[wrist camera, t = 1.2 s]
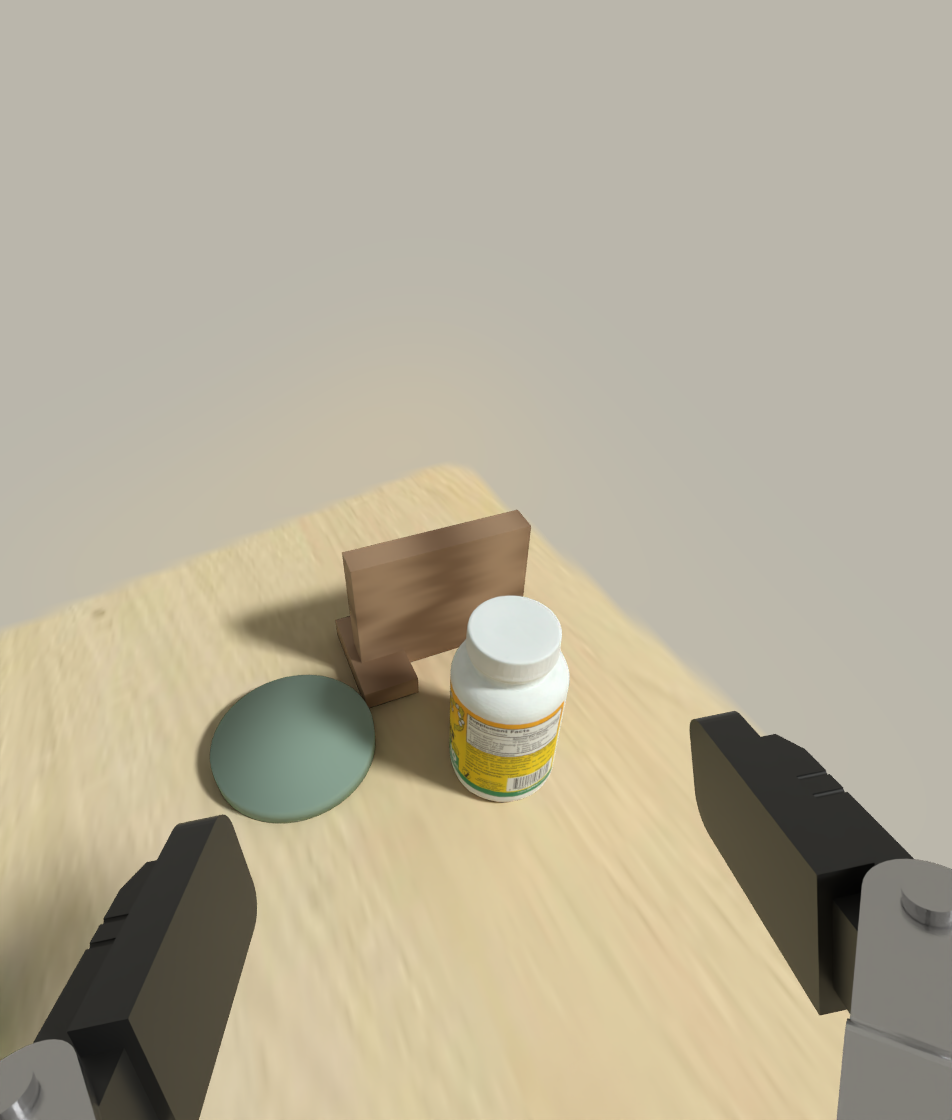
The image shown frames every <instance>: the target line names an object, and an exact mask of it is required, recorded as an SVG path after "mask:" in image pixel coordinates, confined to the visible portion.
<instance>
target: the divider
mask: <svg viewBox="0 0 952 1120" xmlns="http://www.w3.org/2000/svg"><path fill="white" fill-rule="evenodd" d="M530 531H531V525H530V524H529V523H528V522H527V520H526V519H525V518H524V517H523V516H522V514H521V513H520V512H519V511H518V510H514V511H510V512H506V513H502V514H498V515H494V516H490V517H486V518H482V519H478V520H474V521H469V522H465V523H461V524H457V525H453V526H449V527H445V528H441V529H437V530H433V531H428V532H424V533H420V534H416V535H412V536H408V537H404V538H400V539H396V540H392V541H387V542H383V543H379V544H375V545H371V546H367V547H363V548H359V549H355V550H351V551H346V552H342V557H343V564H344V572H345V579H346V587H347V595H348V602H349V610H350V616H348V617H345V618H341V619H337V620H335V621H336V627H337V634H338V636H339V639H340V642H341V644H342V647H343V649H344V652H345V655H346V657H347V660H348V662H349V665H350V668H351V670H352V673H353V675H354V678H355V681H356V683H357V686H358V688H359V691H360V694H361V696H362V698H363V700H364V701H365V702H366V704H367V706H368V708H371V707H374V706H377V705H380V704H383V703H386V702H389V701H392V700H395V699H398V698H401V697H404V696H407V695H410V694H413V693H416V692H418V678H417V675H416V673H415V671H414V669H413V667H412V665H411V663H410V662H413V661H416V660H419V659H422V658H425V657H429V656H432V655H435V654H438V653H441V652H445V651H448V650H451V649H454V648H457V647H460V645H461V644H462V643H463V642H464V641H465V640H466V635H467V625H468V621H469V618H470V616H471V614H472V612H473V611H474V610H475V609H476V608H477V607H478V606H479V605H480V604H482V603H483V602H485V601H487V600H489V599H492V598H495V597H499V596H521V597H523V593H524V584H525V575H526V566H527V558H528V549H529V540H530Z"/></svg>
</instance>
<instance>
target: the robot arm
mask: <svg viewBox="0 0 952 1120" xmlns="http://www.w3.org/2000/svg"><path fill="white" fill-rule="evenodd" d="M690 740H691V752H692V763H693V774H694V786H695V795H696V801H697V805H698V809H699V812H700V816H701V818H702V821H703V823H704V826H705V828H706V830H707V832H708V834H709V835H710V837H711V839H712V840H713V842H714V844H715V845H716V847H717V848H718V850H719V852H720V853H721V855H722V857H723V858H724V860H725V862H726V863H727V865H728V866H729V868H730V870H731V871H732V873H733V875H734V876H735V878H736V880H737V881H738V883H739V884H740V886H741V888H742V889H743V891H744V893H745V894H746V896H747V898H748V899H749V901H750V902H751V904H752V906H753V907H754V909H755V911H756V912H757V914H758V916H759V917H760V919H761V920H762V922H763V924H764V925H765V927H766V929H767V930H768V932H769V933H770V935H771V937H772V938H773V940H774V942H775V943H776V945H777V947H778V948H779V950H780V951H781V953H782V955H783V956H784V958H785V960H786V961H787V963H788V965H789V966H790V968H791V969H792V971H793V973H794V974H795V976H796V978H797V979H798V981H799V983H800V984H801V986H802V987H803V989H804V991H805V992H806V994H807V996H808V997H809V999H810V1001H811V1002H812V1004H813V1005H814V1007H815V1009H816V1010H817V1012H818V1014H819V1015H824V1014H828V1013H833V1012H838V1011H842V1010H848V1011H849V1013H850V1019H847V1022H846V1029H845V1037H844V1047H843V1058H842V1069H841V1079H840V1090H839V1101H838V1111H837V1120H952V869H950V868H947V867H945V866H942V865H939V864H935V863H931V862H928V861H923V860H916V859H914V858H913V857H912V856H911V855H910V854H909V853H908V852H907V851H906V850H905V849H904V848H903V847H902V846H901V845H900V844H899V843H898V842H897V841H896V840H895V839H894V838H893V837H892V836H891V835H890V834H889V833H888V832H887V831H886V830H885V829H884V828H883V827H882V826H881V825H880V824H879V823H878V822H877V821H876V820H875V819H874V818H873V817H872V816H871V815H870V814H869V813H868V812H867V811H866V810H865V809H864V808H863V807H862V806H861V805H860V804H859V803H858V802H857V801H856V800H855V799H854V798H853V797H852V796H851V795H850V794H849V793H848V792H844V790H843V787H842V786H841V785H840V784H839V783H838V782H837V781H836V780H835V779H834V778H833V777H832V776H831V775H830V774H828V775H827V773H826V770H825V769H824V768H823V767H822V766H821V765H820V764H819V763H818V762H817V761H816V760H815V759H814V758H813V757H812V756H811V755H810V754H809V753H808V752H807V751H806V750H805V749H804V748H801V747H800V746H798V745H796V744H794V743H792V742H790V741H788V740H786V739H784V738H782V737H780V736H778V735H776V734H773V735H768V736H763V737H760V736H759V735H758V734H757V732H756V731H755V730H754V729H753V728H752V727H751V726H750V725H749V724H748V723H747V721H746V720H745V719H744V718H743V717H742V716H741V715H740V714H739V713H738V712H736V711H732V712H727V713H722V714H717V715H712V716H708V717H703V718H698V719H693V720H692V721H691V723H690ZM256 916H257V899H256V891H255V887H254V884H253V881H252V878H251V875H250V872H249V869H248V867H247V864H246V861H245V858H244V855H243V853H242V850H241V847H240V844H239V841H238V839H237V836H236V833H235V830H234V827H233V825H232V822H231V821H230V819H229V818H228V817H227V816H226V815H219V816H214V817H209V818H204V819H199V820H194V821H189V822H185V823H180V824H178V825H176V826H175V827H174V829H173V831H172V832H171V834H170V836H169V838H168V840H167V842H166V844H165V846H164V848H163V850H162V852H161V853H160V855H159V857H158V859H157V860H156V861H151V862H146V863H145V864H144V866H143V867H142V868H141V869H140V870H139V871H138V872H137V873H136V874H135V875H134V876H133V877H132V878H131V879H130V880H129V881H128V882H127V883H126V884H125V885H124V886H123V887H122V888H121V889H120V890H119V892H118V894H117V896H116V898H115V899H114V901H113V903H112V905H111V906H110V908H109V910H108V912H107V913H106V915H105V917H104V923H103V924H101V925H100V926H99V928H98V929H97V931H96V933H95V935H94V936H93V938H92V940H91V942H90V948H89V949H87V950H85V952H84V954H83V956H82V958H81V959H80V961H79V963H78V965H77V966H76V968H75V970H74V972H73V973H72V975H71V977H70V979H69V980H68V982H67V984H66V986H65V988H64V989H63V991H62V993H61V995H60V996H59V998H58V1000H57V1002H56V1003H55V1005H54V1007H53V1009H52V1011H51V1012H50V1014H49V1016H48V1018H47V1019H46V1021H45V1023H44V1025H43V1026H42V1028H41V1030H40V1032H39V1033H38V1035H37V1037H36V1039H35V1041H34V1042H33V1044H30V1045H28V1046H25V1047H23V1048H21V1049H19V1050H17V1051H15V1052H13V1053H12V1054H10V1055H9V1056H7V1057H5V1058H4V1059H2V1060H1V1061H0V1120H199V1117H200V1113H201V1110H202V1107H203V1103H204V1100H205V1096H206V1093H207V1089H208V1086H209V1083H210V1079H211V1076H212V1072H213V1069H214V1065H215V1062H216V1058H217V1055H218V1052H219V1048H220V1045H221V1041H222V1038H223V1034H224V1031H225V1028H226V1024H227V1021H228V1017H229V1014H230V1010H231V1007H232V1003H233V1000H234V997H235V993H236V990H237V986H238V983H239V979H240V976H241V973H242V969H243V966H244V962H245V959H246V955H247V952H248V948H249V945H250V942H251V938H252V935H253V931H254V928H255V923H256Z"/></svg>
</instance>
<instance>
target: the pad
mask: <svg viewBox="0 0 952 1120" xmlns="http://www.w3.org/2000/svg"><path fill="white" fill-rule="evenodd" d="M374 751H375V732H374V724H373V719H372V715H371V712H370V709H369V708H368V706H367V704H366V702H365V701H364V700H363V698H362V697H361V696H360V695H359V694H358V693H357V692H356V691H355V690H354V689H352V688H351V687H349V686H348V685H346V684H344V683H342V682H340V681H338V680H335V679H332V678H328V677H324V676H317V675H297V676H290V677H285V678H281V679H277V680H274V681H272V682H269V683H266V684H264V685H262V686H260V687H258V688H256V689H254V690H253V691H251V692H250V693H248V694H247V695H245V696H244V697H243V698H241V699H240V700H239V701H238V702H237V703H236V704H235V705H234V706H232V707H231V709H230V710H229V711H228V712H227V713H226V714H225V716H224V717H223V719H222V720H221V722H220V723H219V725H218V727H217V729H216V731H215V734H214V737H213V740H212V744H211V749H210V763H211V769H212V772H213V776H214V778H215V781H216V783H217V785H218V788H219V790H220V791H221V793H222V795H223V797H224V798H225V799H226V801H227V802H228V803H229V804H230V805H231V806H232V807H233V808H234V809H236V810H237V811H239V812H240V813H242V814H243V815H245V816H248V817H250V818H252V819H255V820H259V821H263V822H269V823H291V822H298V821H303V820H307V819H310V818H313V817H316V816H318V815H321V814H323V813H325V812H327V811H329V810H331V809H332V808H334V807H335V806H337V805H339V804H340V803H341V802H342V801H344V800H345V799H346V798H347V797H349V796H350V795H351V794H352V793H353V792H354V791H355V790H356V788H357V787H358V786H359V785H360V783H361V782H362V781H363V779H364V777H365V776H366V774H367V772H368V770H369V768H370V766H371V763H372V760H373V756H374Z"/></svg>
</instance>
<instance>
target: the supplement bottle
mask: <svg viewBox="0 0 952 1120" xmlns="http://www.w3.org/2000/svg"><path fill="white" fill-rule="evenodd" d="M561 639H562V629H561V625H560V623H559V620H558V618H557V617H556V616H555V614H554V613H553V612H552V611H551V610H550V609H549V608H547V607H546V606H545V605H543V604H541V603H540V602H537V601H535V600H533V599H530V598H526V597H521V596H499V597H495V598H492V599H489V600H487V601H485V602H483V603H482V604H480V605H479V606H478V607H477V608H476V609H475V610H474V611H473V612H472V614H471V616H470V618H469V621H468V625H467V635H466V640H465V641H464V642H463V643H462V644H461V645H460V647H459V648H458V650H457V651H456V653H455V655H454V658H453V661H452V665H451V677H450V758H451V762H452V766H453V768H454V771H455V773H456V775H457V777H458V779H459V780H460V782H461V783H462V784H463V785H464V786H465V787H466V788H467V789H468V790H469V791H470V792H472V793H474V794H476V795H478V796H480V797H482V798H485V799H488V800H492V801H497V802H511V801H516V800H521V799H524V798H526V797H528V796H530V795H532V794H533V793H535V792H536V791H537V790H539V789H540V788H541V787H542V786H543V785H544V783H545V782H546V780H547V779H548V777H549V775H550V773H551V770H552V767H553V763H554V757H555V752H556V747H557V742H558V737H559V732H560V727H561V722H562V717H563V712H564V707H565V702H566V697H567V692H568V687H569V670H568V666H567V662H566V660H565V658H564V656H563V654H562V652H561V651H560V646H561Z"/></svg>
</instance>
